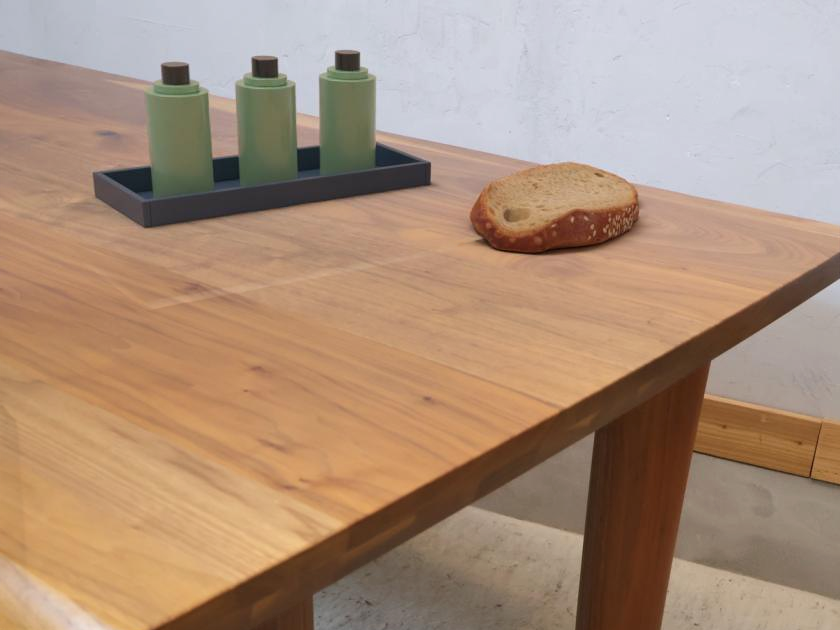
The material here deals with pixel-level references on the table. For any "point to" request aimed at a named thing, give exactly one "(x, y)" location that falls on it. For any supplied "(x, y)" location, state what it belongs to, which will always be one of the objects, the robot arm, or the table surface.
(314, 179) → the tray
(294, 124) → the bottle mid
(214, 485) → the table surface
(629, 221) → the slice of bread
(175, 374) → the table surface
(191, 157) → the bottle loose
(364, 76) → the bottle far
